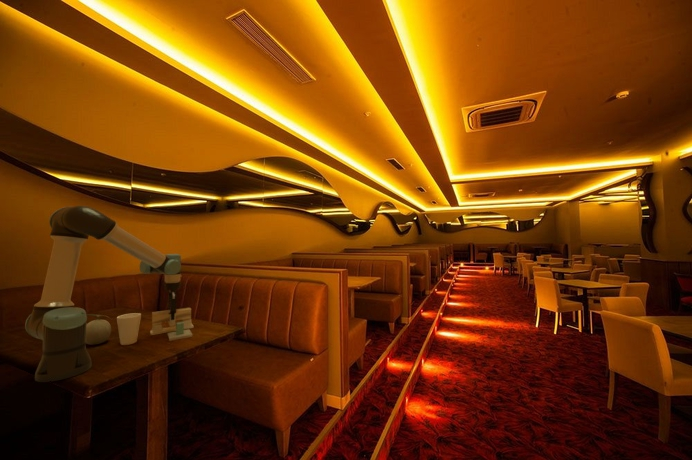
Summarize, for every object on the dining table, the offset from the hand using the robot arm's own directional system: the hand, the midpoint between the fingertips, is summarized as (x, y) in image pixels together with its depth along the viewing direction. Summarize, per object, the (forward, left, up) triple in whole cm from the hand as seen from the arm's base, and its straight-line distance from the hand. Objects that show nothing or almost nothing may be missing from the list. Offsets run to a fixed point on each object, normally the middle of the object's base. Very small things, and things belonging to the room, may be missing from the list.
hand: (171, 324), depth 156 cm
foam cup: (-9, +19, -3) cm, 21 cm away
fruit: (-1, +31, -3) cm, 31 cm away
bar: (0, 0, +2) cm, 2 cm away
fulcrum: (-14, -2, -3) cm, 14 cm away
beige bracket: (0, 0, -3) cm, 3 cm away
